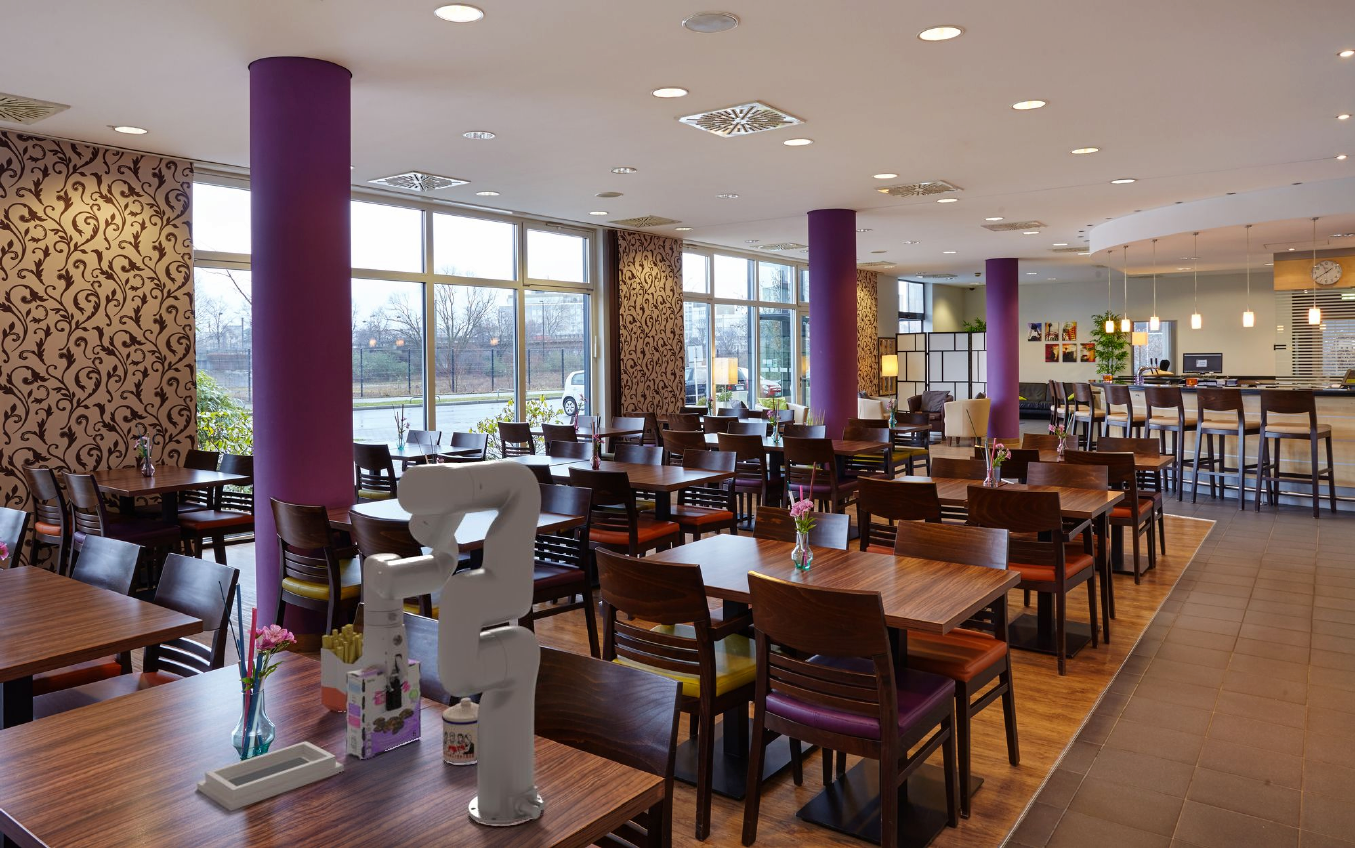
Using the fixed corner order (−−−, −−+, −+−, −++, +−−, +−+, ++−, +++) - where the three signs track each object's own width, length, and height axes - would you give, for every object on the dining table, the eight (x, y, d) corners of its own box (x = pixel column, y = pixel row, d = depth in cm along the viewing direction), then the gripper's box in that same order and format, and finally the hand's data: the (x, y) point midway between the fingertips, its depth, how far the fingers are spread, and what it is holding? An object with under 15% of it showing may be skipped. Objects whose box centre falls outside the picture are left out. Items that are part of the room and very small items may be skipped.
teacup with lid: (433, 764, 175) (432, 704, 174) (456, 746, 183) (456, 689, 183) (490, 771, 172) (490, 710, 171) (510, 752, 180) (510, 694, 180)
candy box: (362, 761, 176) (362, 677, 175) (345, 753, 179) (344, 671, 178) (422, 739, 186) (421, 660, 186) (404, 733, 190) (404, 655, 189)
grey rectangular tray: (343, 771, 171) (343, 755, 171) (230, 810, 155) (230, 793, 155) (308, 753, 179) (308, 738, 179) (197, 788, 163) (196, 772, 163)
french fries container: (370, 701, 209) (370, 623, 208) (337, 717, 199) (337, 635, 198) (354, 698, 211) (354, 622, 210) (321, 714, 200) (320, 633, 200)
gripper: (425, 620, 179) (425, 710, 180) (376, 606, 190) (376, 691, 191) (391, 627, 173) (392, 720, 174) (343, 612, 184) (343, 700, 185)
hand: (384, 704), depth 182 cm, fingers closed on candy box, 6 cm apart
